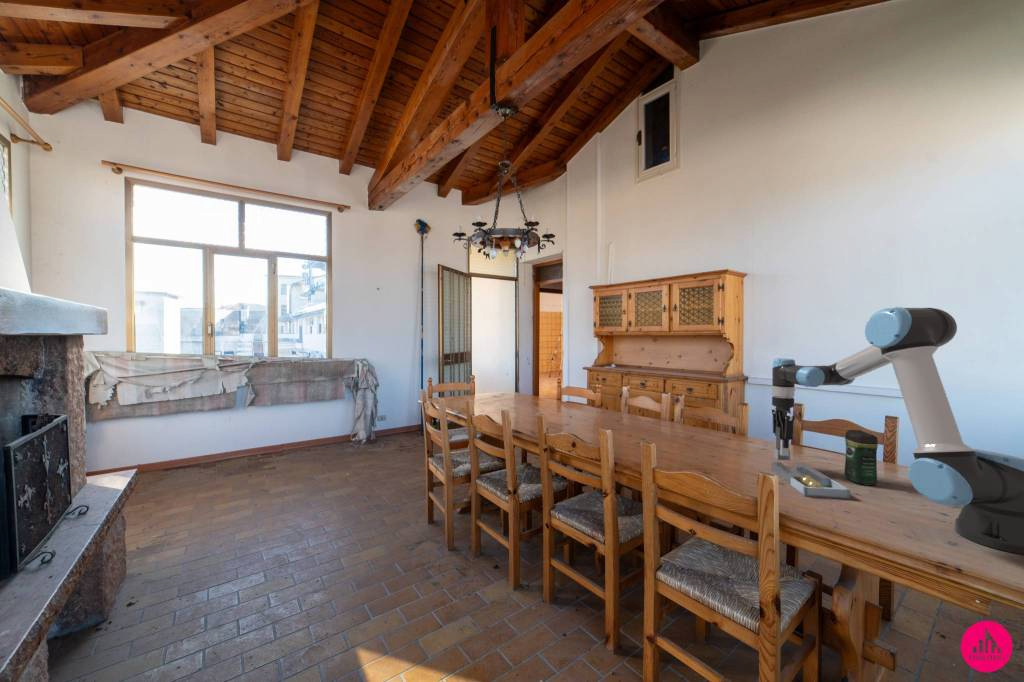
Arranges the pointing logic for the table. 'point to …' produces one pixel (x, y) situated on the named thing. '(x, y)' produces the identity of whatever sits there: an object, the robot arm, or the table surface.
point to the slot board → (799, 473)
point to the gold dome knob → (813, 483)
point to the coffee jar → (861, 457)
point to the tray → (822, 490)
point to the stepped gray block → (779, 445)
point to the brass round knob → (804, 479)
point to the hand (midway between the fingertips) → (782, 453)
